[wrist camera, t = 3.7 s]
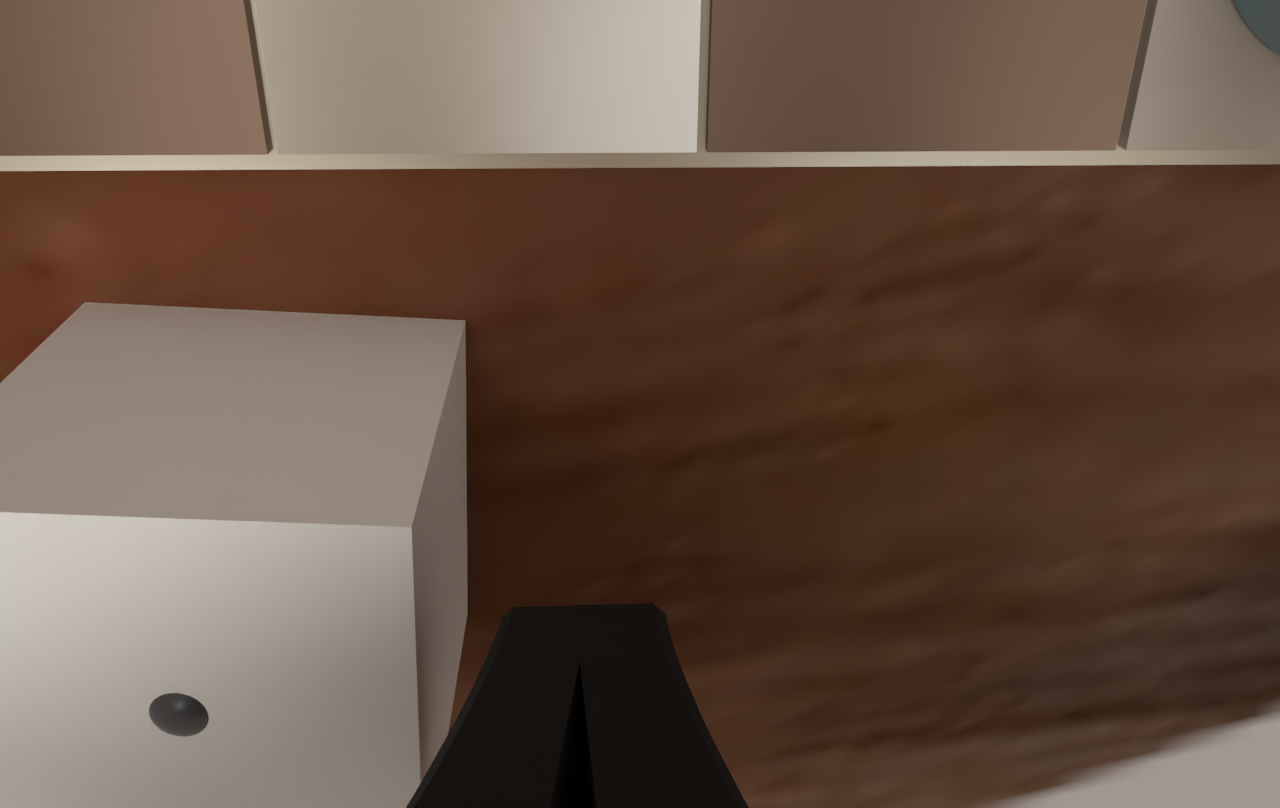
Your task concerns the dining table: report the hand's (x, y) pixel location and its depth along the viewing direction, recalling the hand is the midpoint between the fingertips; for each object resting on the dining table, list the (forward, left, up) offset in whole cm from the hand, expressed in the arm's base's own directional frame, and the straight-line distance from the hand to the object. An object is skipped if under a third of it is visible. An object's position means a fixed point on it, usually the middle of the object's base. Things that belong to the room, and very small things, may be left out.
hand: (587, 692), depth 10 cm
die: (+3, 0, -4) cm, 5 cm away
